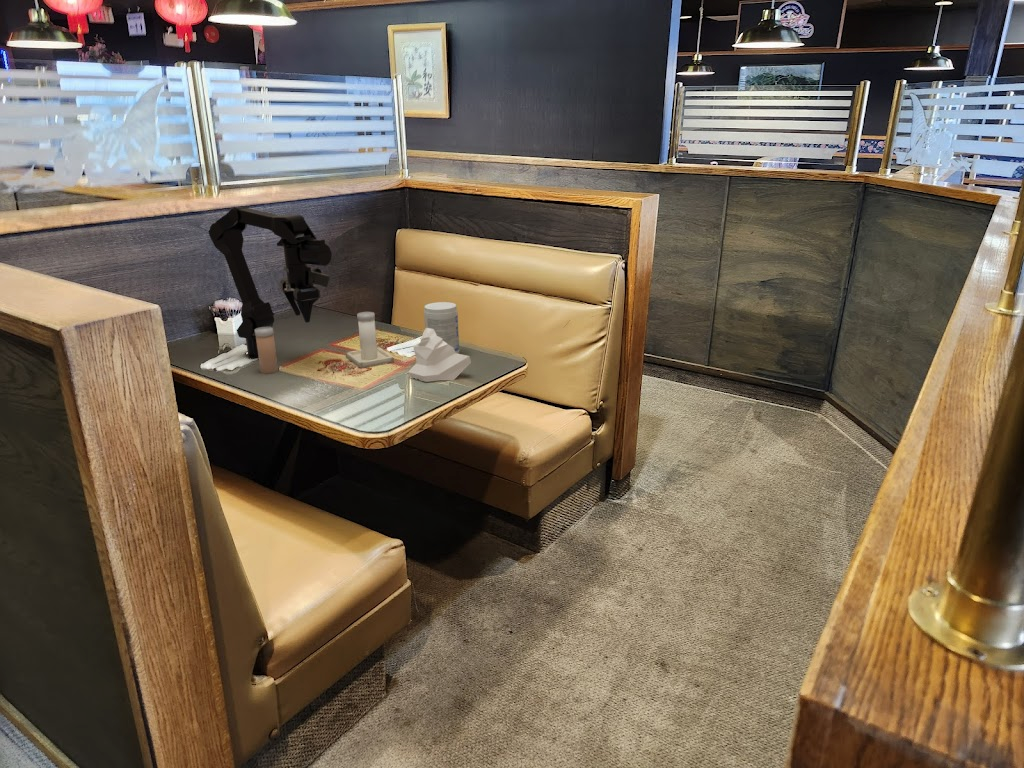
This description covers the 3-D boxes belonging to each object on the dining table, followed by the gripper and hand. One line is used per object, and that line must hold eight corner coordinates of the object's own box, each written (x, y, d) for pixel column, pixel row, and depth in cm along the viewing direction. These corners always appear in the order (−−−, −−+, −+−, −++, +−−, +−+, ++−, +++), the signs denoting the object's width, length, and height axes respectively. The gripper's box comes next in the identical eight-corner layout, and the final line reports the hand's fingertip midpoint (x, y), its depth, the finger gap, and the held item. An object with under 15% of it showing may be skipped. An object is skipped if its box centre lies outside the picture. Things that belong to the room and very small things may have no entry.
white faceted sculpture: (439, 393, 186) (422, 344, 180) (405, 383, 196) (388, 337, 190) (473, 370, 193) (458, 322, 186) (439, 362, 203) (423, 317, 197)
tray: (346, 357, 210) (345, 352, 209) (378, 351, 215) (378, 346, 214) (360, 368, 200) (360, 363, 200) (394, 362, 205) (393, 357, 205)
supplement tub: (465, 355, 210) (463, 306, 205) (436, 361, 205) (433, 311, 200) (449, 347, 218) (447, 300, 213) (421, 353, 213) (418, 304, 208)
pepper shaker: (258, 370, 200) (252, 328, 196) (275, 367, 202) (270, 325, 198) (262, 374, 196) (256, 332, 192) (280, 371, 198) (275, 329, 194)
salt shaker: (357, 358, 207) (353, 314, 202) (369, 354, 210) (366, 310, 206) (369, 361, 204) (365, 316, 200) (381, 356, 208) (378, 313, 203)
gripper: (336, 265, 192) (341, 321, 197) (315, 255, 207) (320, 308, 212) (294, 269, 187) (301, 327, 192) (275, 259, 202) (282, 313, 207)
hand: (302, 318), depth 201 cm, fingers open, 9 cm apart
